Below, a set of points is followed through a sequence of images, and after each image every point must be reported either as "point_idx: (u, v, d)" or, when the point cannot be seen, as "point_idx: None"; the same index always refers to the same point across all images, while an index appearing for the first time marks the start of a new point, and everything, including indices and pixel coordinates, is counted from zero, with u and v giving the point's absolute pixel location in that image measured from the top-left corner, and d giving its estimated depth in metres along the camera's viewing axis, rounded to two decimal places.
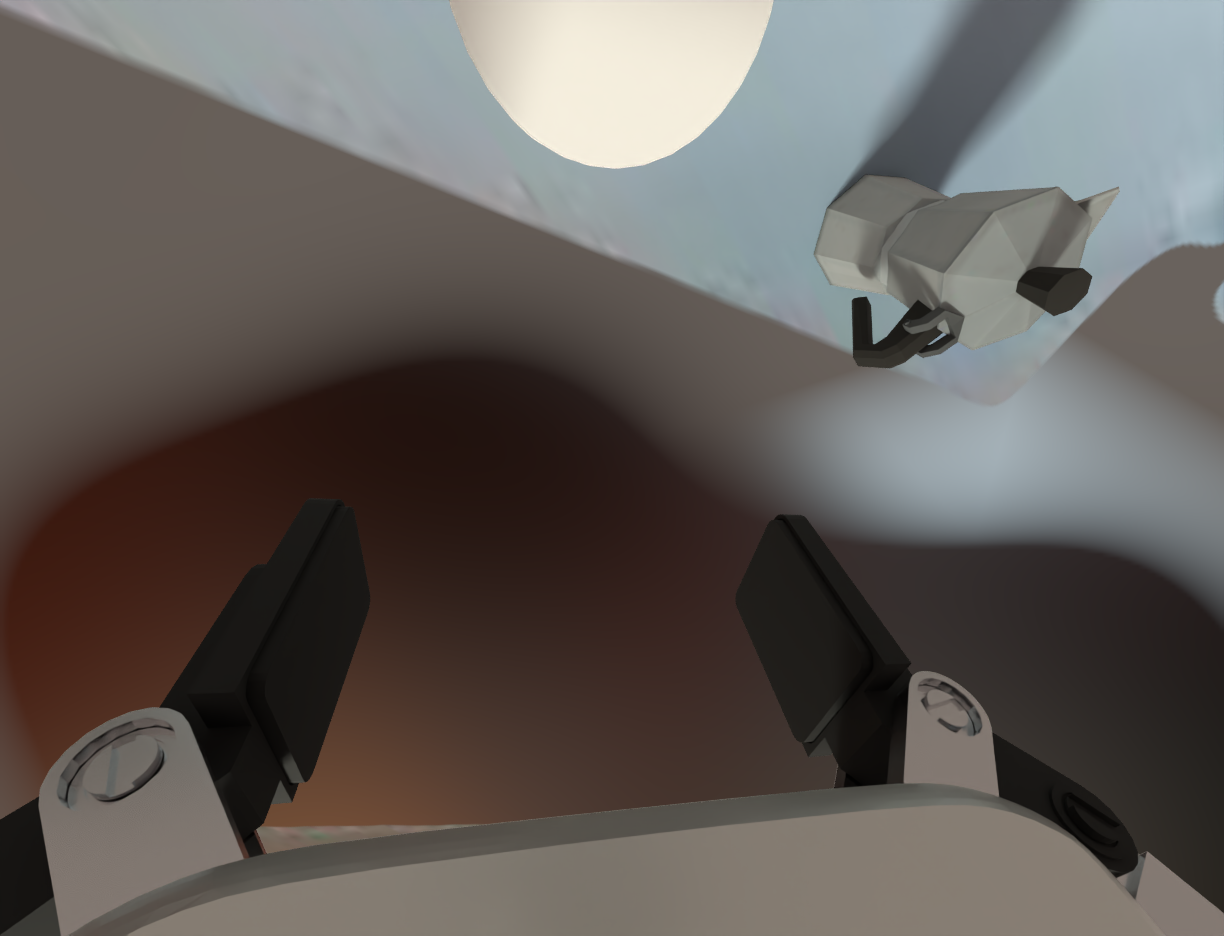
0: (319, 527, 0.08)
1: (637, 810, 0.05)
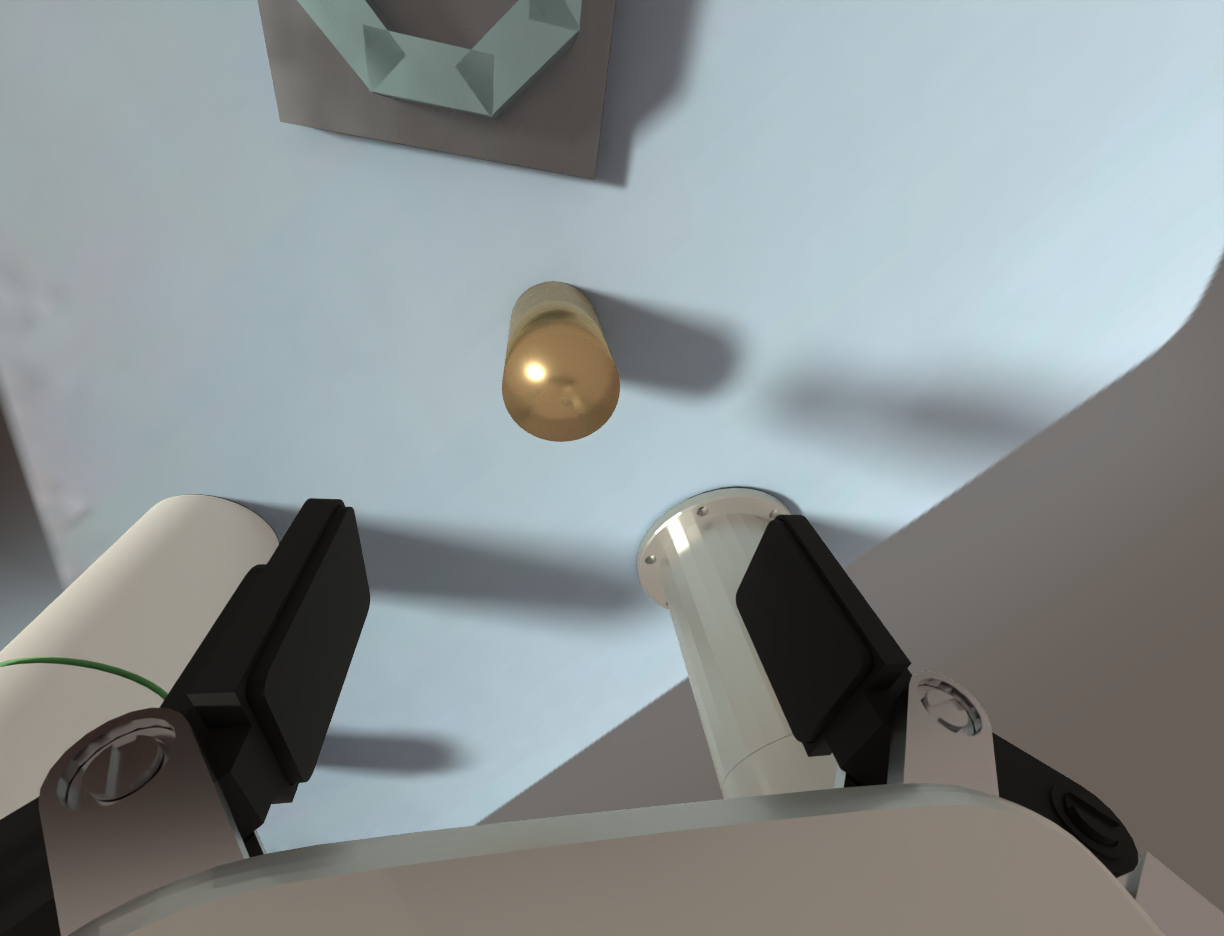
0: (319, 527, 0.08)
1: (637, 809, 0.05)
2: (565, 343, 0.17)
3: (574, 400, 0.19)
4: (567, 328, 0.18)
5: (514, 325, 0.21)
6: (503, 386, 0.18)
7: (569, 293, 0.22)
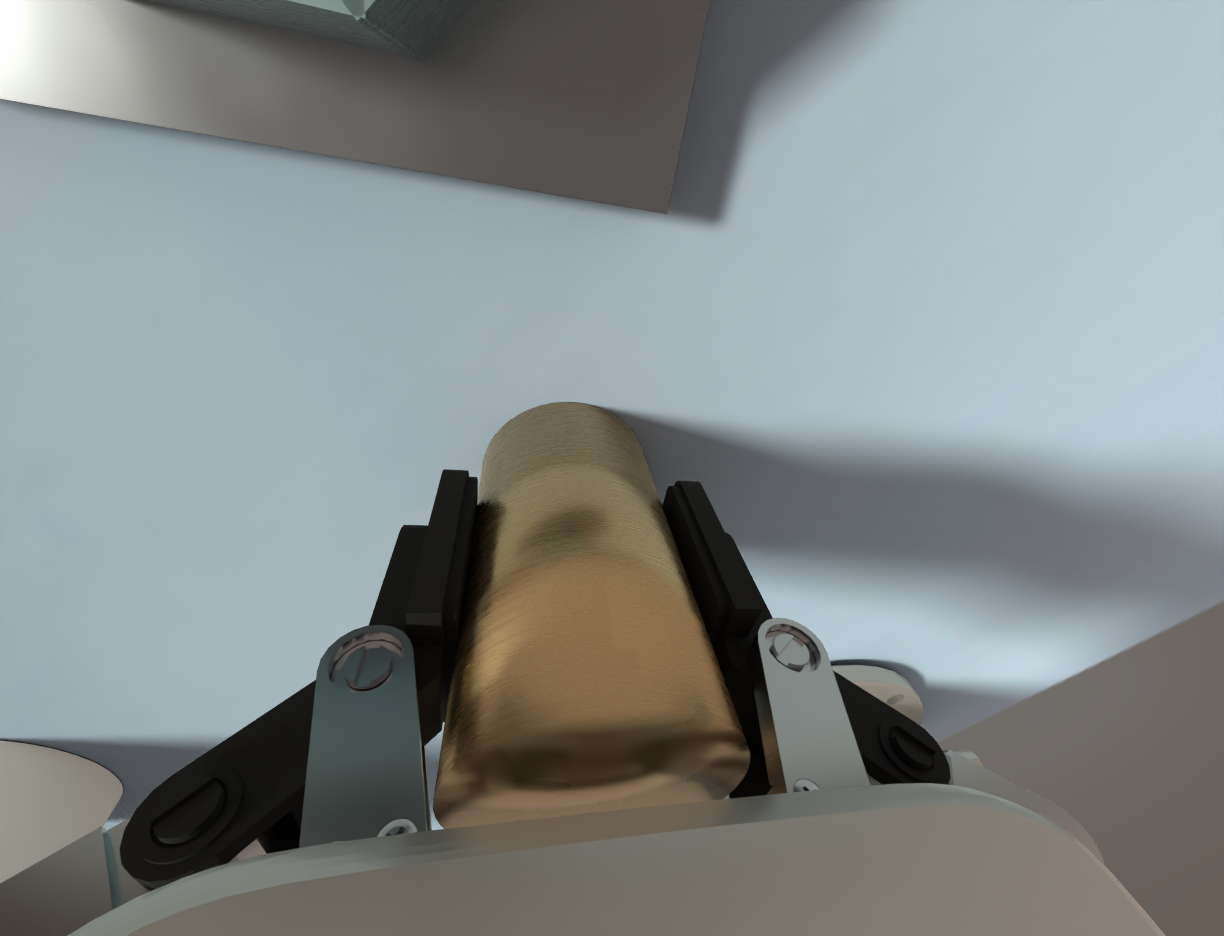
0: (461, 492, 0.09)
1: (637, 809, 0.05)
2: (614, 725, 0.06)
3: (629, 800, 0.07)
4: (618, 662, 0.06)
5: (480, 542, 0.09)
6: (437, 809, 0.06)
7: (599, 444, 0.11)
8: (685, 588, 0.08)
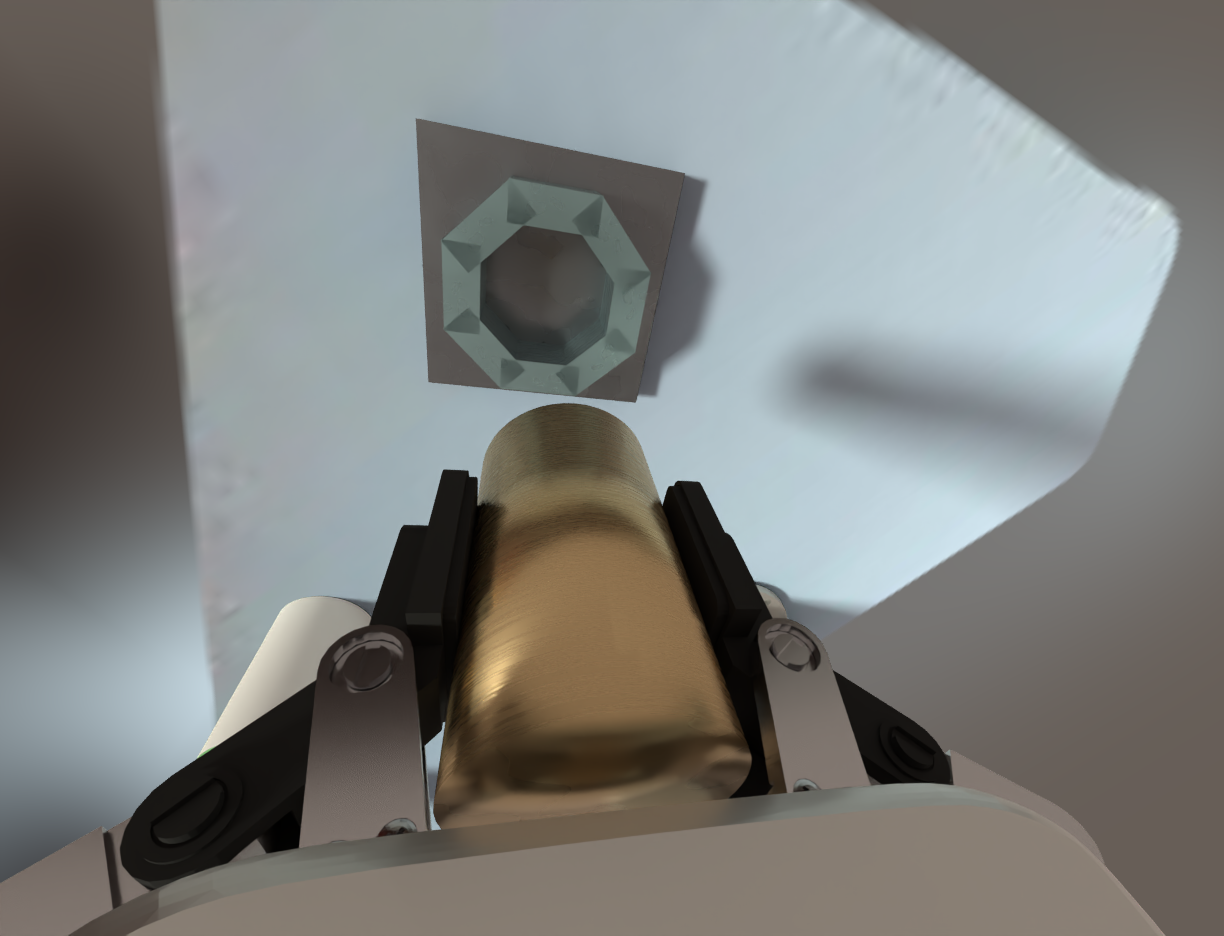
0: (461, 492, 0.09)
1: (637, 809, 0.05)
2: (615, 730, 0.06)
3: (629, 802, 0.07)
4: (619, 664, 0.06)
5: (480, 544, 0.09)
6: (437, 812, 0.06)
7: (600, 445, 0.11)
8: (686, 590, 0.08)
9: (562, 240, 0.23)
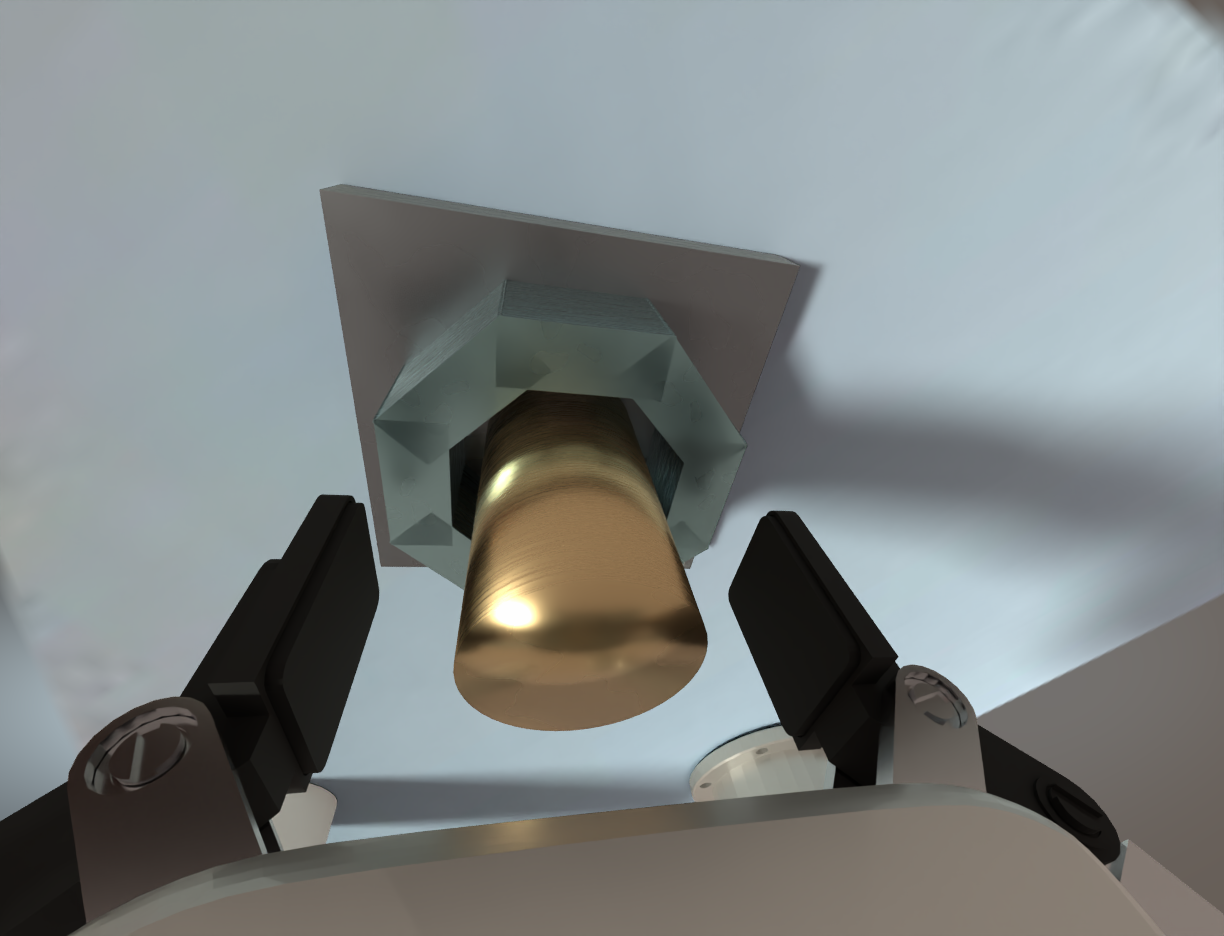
0: (332, 522, 0.08)
1: (637, 810, 0.05)
2: (596, 595, 0.07)
3: (610, 676, 0.09)
4: (599, 551, 0.08)
5: (487, 481, 0.11)
6: (456, 672, 0.08)
7: (589, 403, 0.12)
8: (659, 514, 0.10)
9: None
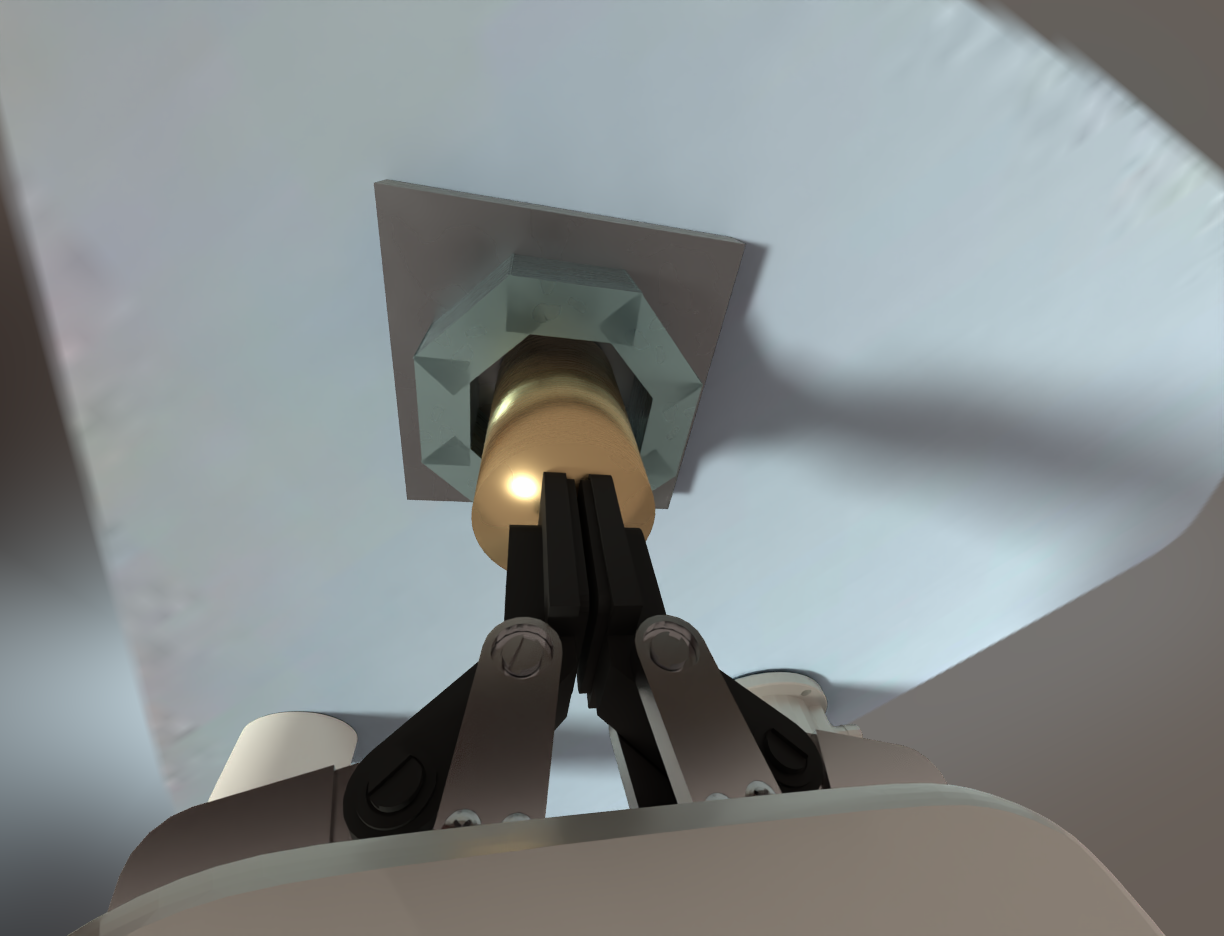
0: (566, 493, 0.10)
1: (637, 810, 0.05)
2: (569, 455, 0.11)
3: None
4: (573, 428, 0.11)
5: (496, 404, 0.14)
6: (473, 518, 0.11)
7: (576, 350, 0.16)
8: (624, 421, 0.13)
9: None
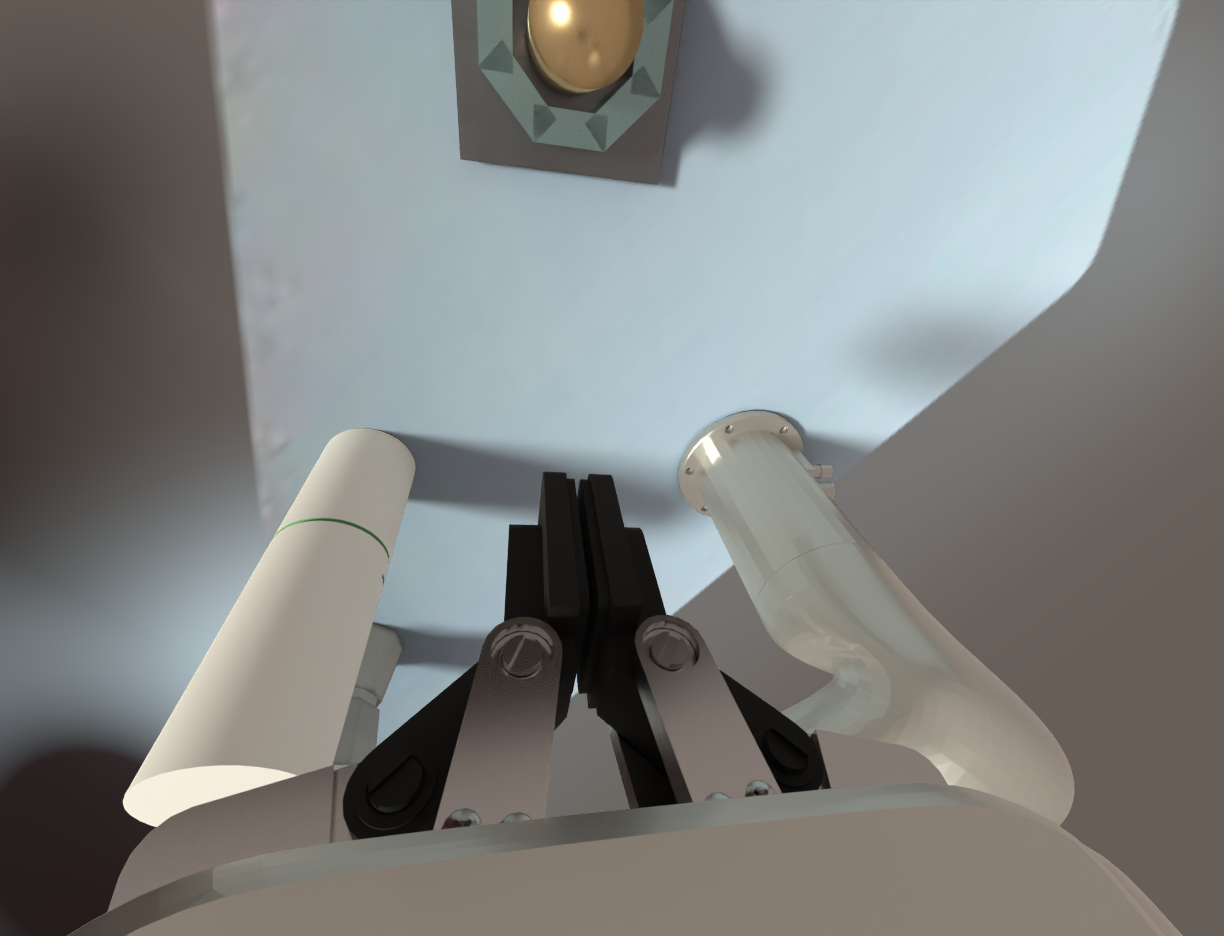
0: (566, 493, 0.10)
1: (637, 809, 0.05)
2: None
3: (600, 29, 0.19)
4: None
5: None
6: (531, 5, 0.18)
7: None
8: None
9: None
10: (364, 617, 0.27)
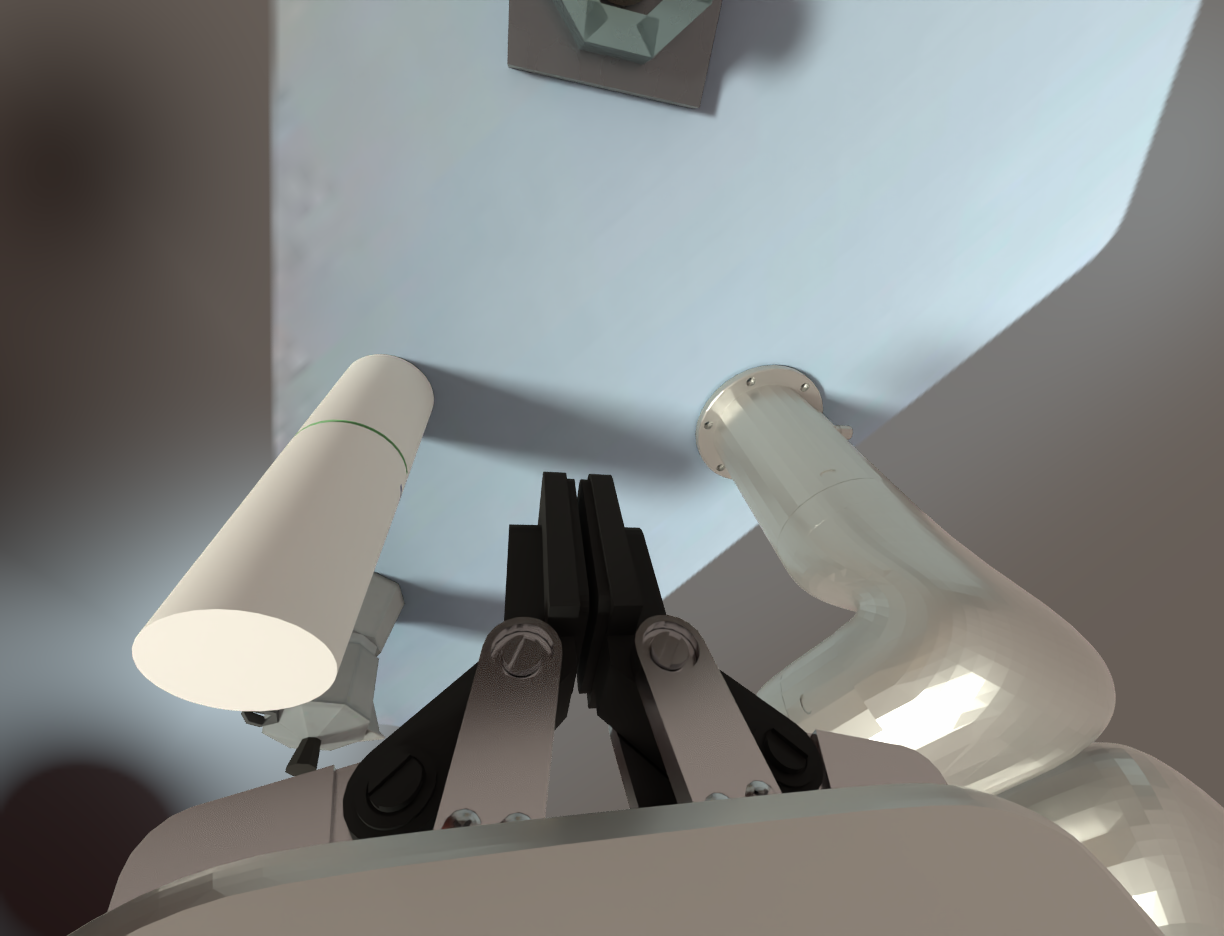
0: (566, 493, 0.10)
1: (637, 809, 0.05)
2: None
3: None
4: None
5: None
6: None
7: None
8: None
9: None
10: (383, 516, 0.26)
